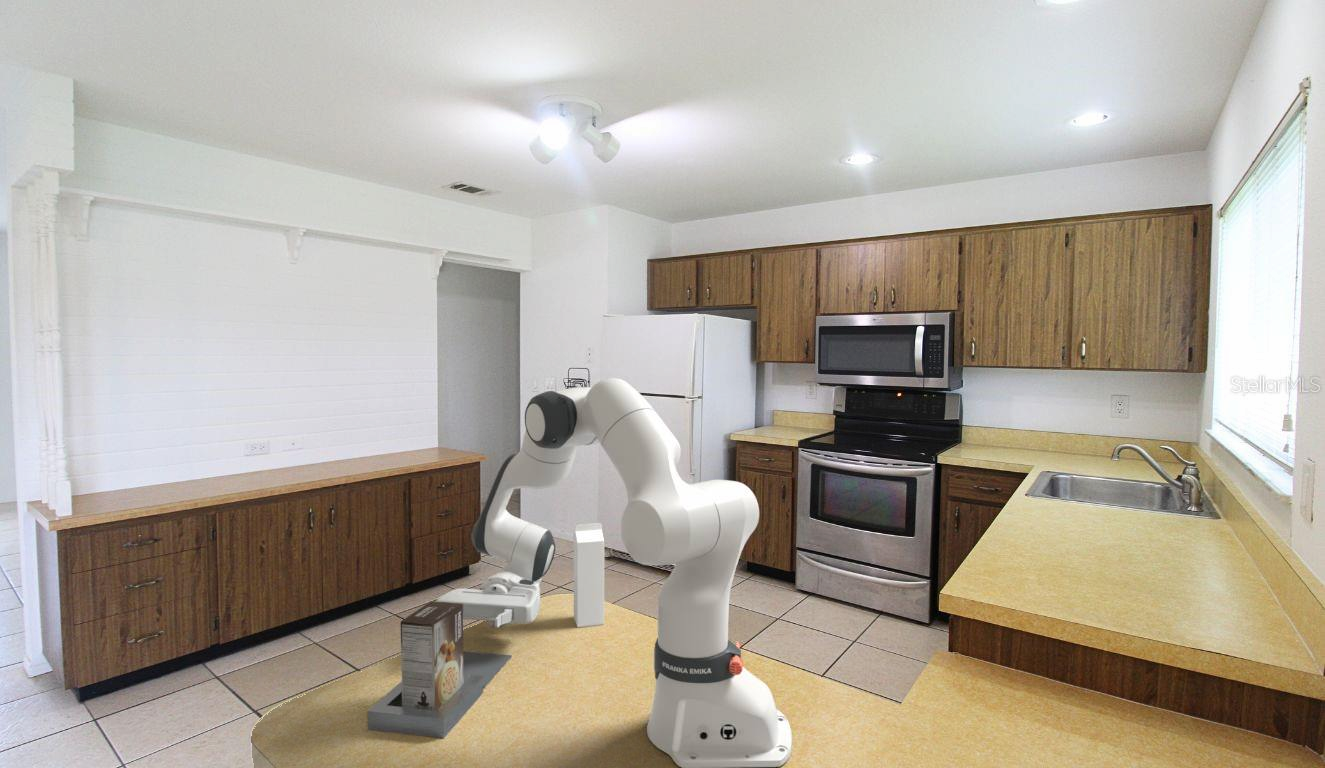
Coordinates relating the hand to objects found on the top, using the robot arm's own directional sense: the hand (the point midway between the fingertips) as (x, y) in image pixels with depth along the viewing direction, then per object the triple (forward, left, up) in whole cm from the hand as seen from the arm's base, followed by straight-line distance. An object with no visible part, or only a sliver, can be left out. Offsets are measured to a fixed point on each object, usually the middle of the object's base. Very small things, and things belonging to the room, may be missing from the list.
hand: (470, 621), depth 118 cm
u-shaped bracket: (0, +15, -9) cm, 17 cm away
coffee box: (0, +13, -9) cm, 16 cm away
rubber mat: (0, 0, -9) cm, 9 cm away
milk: (-16, -25, -9) cm, 31 cm away
